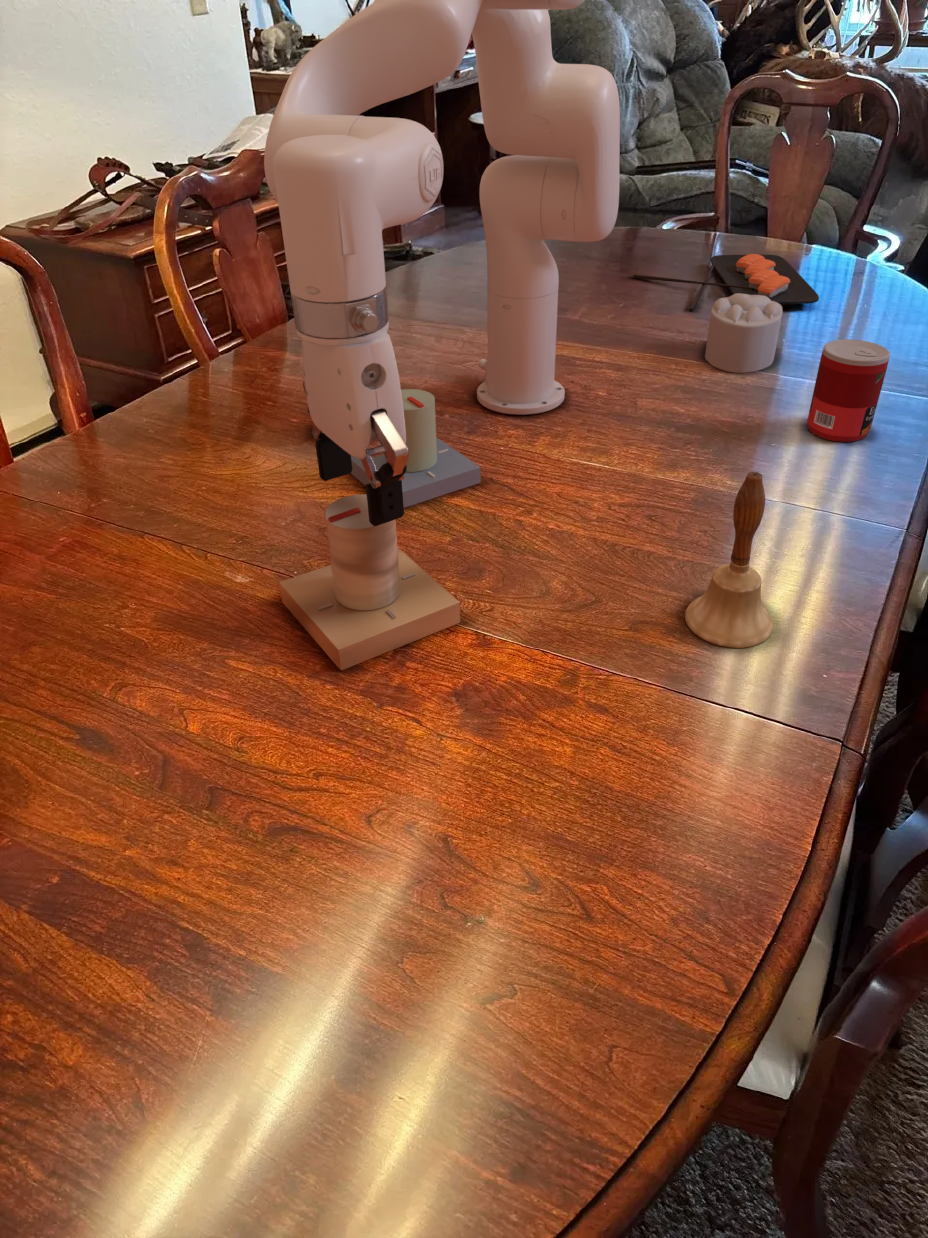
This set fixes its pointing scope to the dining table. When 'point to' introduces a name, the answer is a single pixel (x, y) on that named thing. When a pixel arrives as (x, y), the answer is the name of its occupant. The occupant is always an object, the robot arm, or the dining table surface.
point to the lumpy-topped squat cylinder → (743, 333)
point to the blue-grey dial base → (429, 475)
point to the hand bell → (735, 582)
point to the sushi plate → (756, 279)
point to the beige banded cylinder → (362, 555)
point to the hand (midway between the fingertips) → (360, 497)
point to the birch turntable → (369, 614)
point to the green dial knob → (420, 429)
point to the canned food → (847, 389)
